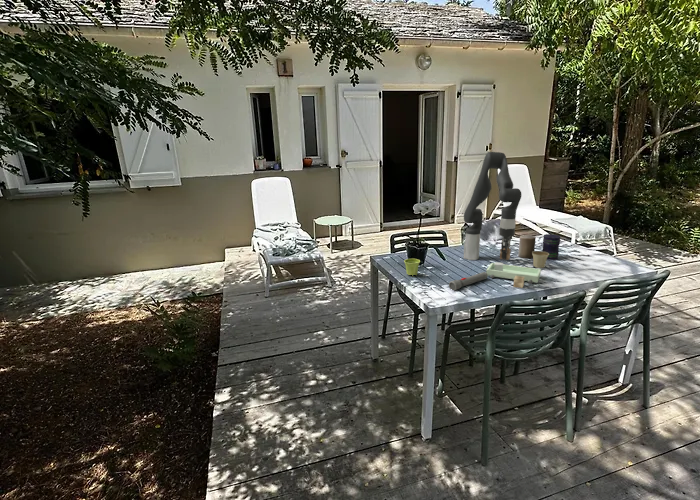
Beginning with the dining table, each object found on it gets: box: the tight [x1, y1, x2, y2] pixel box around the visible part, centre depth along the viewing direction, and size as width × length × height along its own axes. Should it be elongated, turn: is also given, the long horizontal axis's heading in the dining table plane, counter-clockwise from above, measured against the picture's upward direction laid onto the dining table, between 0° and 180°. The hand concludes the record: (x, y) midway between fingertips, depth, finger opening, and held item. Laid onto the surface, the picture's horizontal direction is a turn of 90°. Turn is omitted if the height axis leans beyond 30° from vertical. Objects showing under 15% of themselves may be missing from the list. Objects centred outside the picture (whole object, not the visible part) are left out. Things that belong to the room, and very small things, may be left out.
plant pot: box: [403, 258, 421, 277], centre depth 228 cm, size 9×9×9 cm
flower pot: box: [532, 250, 549, 269], centre depth 236 cm, size 9×9×9 cm
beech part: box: [513, 276, 525, 289], centre depth 206 cm, size 4×4×5 cm
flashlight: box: [448, 271, 489, 291], centre depth 211 cm, size 5×28×5 cm, turn 124°
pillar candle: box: [517, 234, 536, 259], centre depth 255 cm, size 10×10×15 cm
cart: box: [485, 262, 542, 285], centre depth 220 cm, size 27×16×4 cm, turn 59°
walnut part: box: [499, 248, 512, 261], centre depth 206 cm, size 4×4×5 cm
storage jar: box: [541, 233, 561, 261], centre depth 251 cm, size 10×10×15 cm
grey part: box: [494, 261, 504, 271], centre depth 224 cm, size 4×4×5 cm
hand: (504, 257), depth 207 cm, fingers closed on walnut part, 4 cm apart
